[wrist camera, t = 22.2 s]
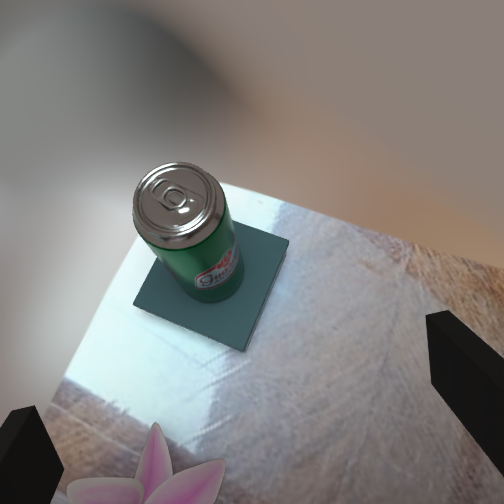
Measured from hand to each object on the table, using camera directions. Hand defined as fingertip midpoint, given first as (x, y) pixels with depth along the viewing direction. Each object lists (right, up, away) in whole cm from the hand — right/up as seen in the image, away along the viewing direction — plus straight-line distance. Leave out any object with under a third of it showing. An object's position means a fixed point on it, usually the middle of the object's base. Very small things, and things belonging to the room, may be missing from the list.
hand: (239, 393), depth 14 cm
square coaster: (-2, +2, +22) cm, 22 cm away
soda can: (-3, +3, +19) cm, 19 cm away
